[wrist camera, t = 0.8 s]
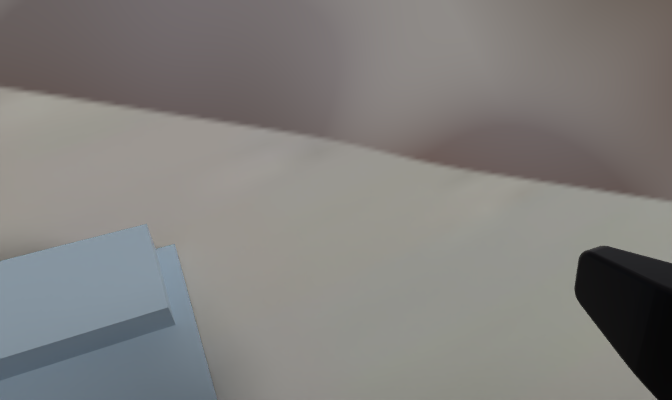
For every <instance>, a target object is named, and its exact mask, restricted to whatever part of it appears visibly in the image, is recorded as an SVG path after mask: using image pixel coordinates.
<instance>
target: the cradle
mask: <svg viewBox="0 0 672 400" xmlns="http://www.w3.org/2000/svg"><path fill="white" fill-rule="evenodd" d="M0 400H217V398H216V394H215V390H214V387H213V383H212V379H211V376H210V372H209V368H208V365H207V361H206V357H205V354H204V350H203V346H202V343H201V339H200V335H199V332H198V328H197V324H196V321H195V317H194V313H193V310H192V306H191V302H190V299H189V295H188V291H187V288H186V284H185V280H184V277H183V273H182V269H181V266H180V262H179V258H178V255H177V251H176V247H175V244H173V245H169V246H165V247H161V248H158V249H155V246H154V243H153V240H152V238H151V235H150V232H149V229H148V227H147V224H144V225H140V226H136V227H132V228H129V229H125V230H121V231H117V232H113V233H109V234H105V235H101V236H97V237H93V238H89V239H85V240H81V241H77V242H73V243H69V244H65V245H61V246H57V247H53V248H50V249H46V250H42V251H38V252H34V253H30V254H26V255H22V256H18V257H14V258H10V259H6V260H2V261H0Z"/></svg>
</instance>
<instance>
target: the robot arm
mask: <svg viewBox="0 0 672 400" xmlns="http://www.w3.org/2000/svg"><path fill="white" fill-rule="evenodd" d="M575 295H576V298H577V300H578V302H579V303H580V304H581V306H582V307H583V308H584V310H585V311H586V312H587V314H588V315H589V316H590V317H591V319H592V320H593V321H594V323H595V324H596V325H597V327H598V328H599V329H600V331H601V332H602V333H603V334H604V336H605V337H606V338H607V340H608V341H609V342H610V344H611V345H612V346H613V347H614V349H615V350H616V351H617V353H618V354H619V355H620V357H621V358H622V359H623V360H624V362H625V363H626V364H627V365H628V367H629V368H630V369H631V370H632V372H633V373H634V374H635V375H636V376H637V377H638V379H639V380H640V381H641V382H642V383H643V384H644V385H645V387H646V388H647V389H648V390H649V391H650V392H651V393H652V394H653V395H654V396H655V397H656V398H657V399H658V400H672V263H669V262H665V261H661V260H657V259H654V258H650V257H646V256H642V255H639V254H635V253H631V252H627V251H624V250H620V249H616V248H612V247H609V246H599V247H596V248H593V249H590V250H587V251H584V252H583V253H582V254H581V255H580V257H579V261H578V268H577V274H576V281H575Z"/></svg>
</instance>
